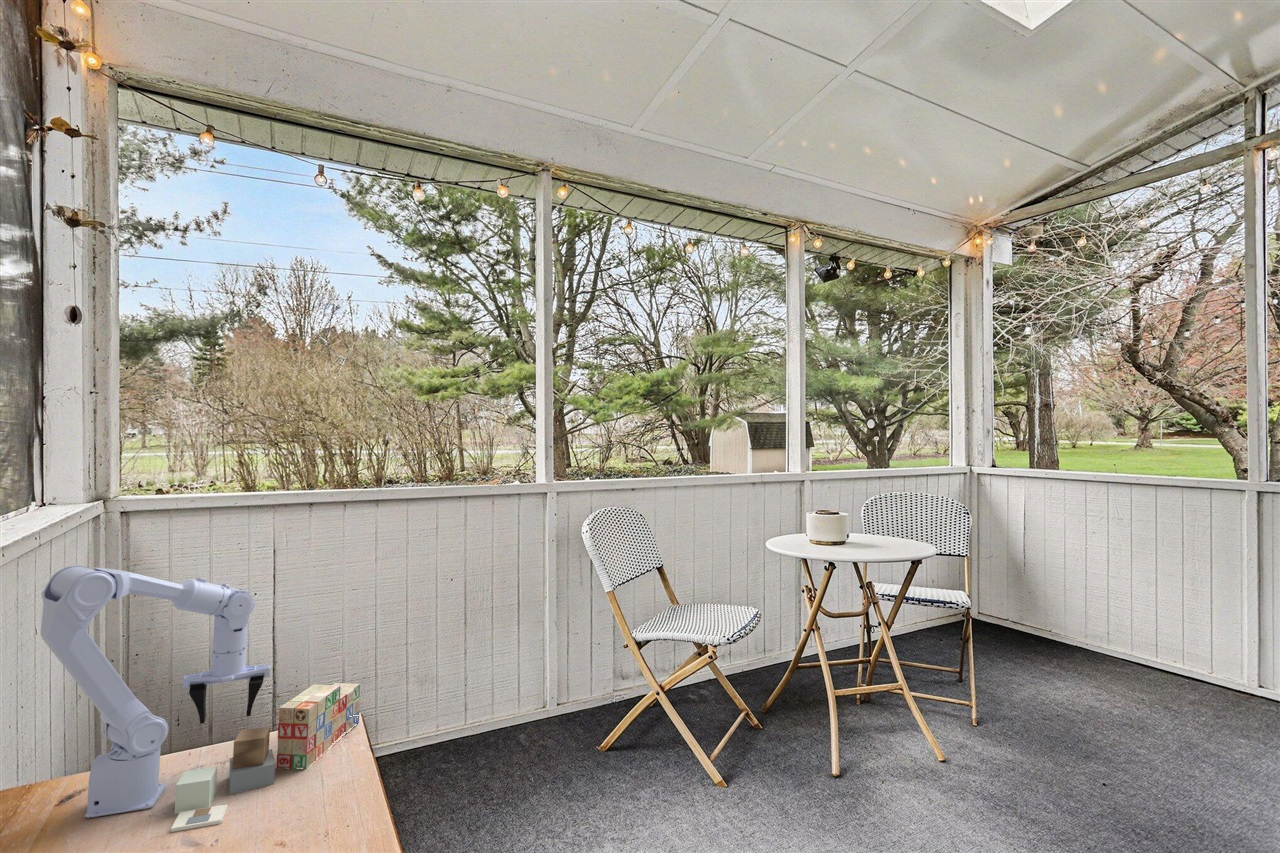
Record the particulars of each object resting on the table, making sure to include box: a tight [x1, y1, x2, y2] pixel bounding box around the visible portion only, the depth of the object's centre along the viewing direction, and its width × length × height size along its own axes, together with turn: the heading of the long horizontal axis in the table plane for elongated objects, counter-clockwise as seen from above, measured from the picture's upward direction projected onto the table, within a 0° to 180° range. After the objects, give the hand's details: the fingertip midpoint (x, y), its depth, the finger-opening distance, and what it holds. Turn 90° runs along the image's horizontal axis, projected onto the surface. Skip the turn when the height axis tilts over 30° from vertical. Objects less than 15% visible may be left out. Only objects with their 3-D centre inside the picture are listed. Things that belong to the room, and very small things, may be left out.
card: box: [170, 803, 228, 833], centre depth 106 cm, size 7×5×1 cm
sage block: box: [174, 765, 218, 815], centre depth 111 cm, size 5×5×5 cm
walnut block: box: [232, 726, 271, 769], centre depth 119 cm, size 5×5×5 cm
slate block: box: [228, 748, 276, 795], centre depth 119 cm, size 7×7×4 cm
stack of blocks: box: [276, 682, 361, 770], centre depth 134 cm, size 21×6×12 cm, turn 178°
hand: (226, 717), depth 124 cm, fingers open, 7 cm apart
